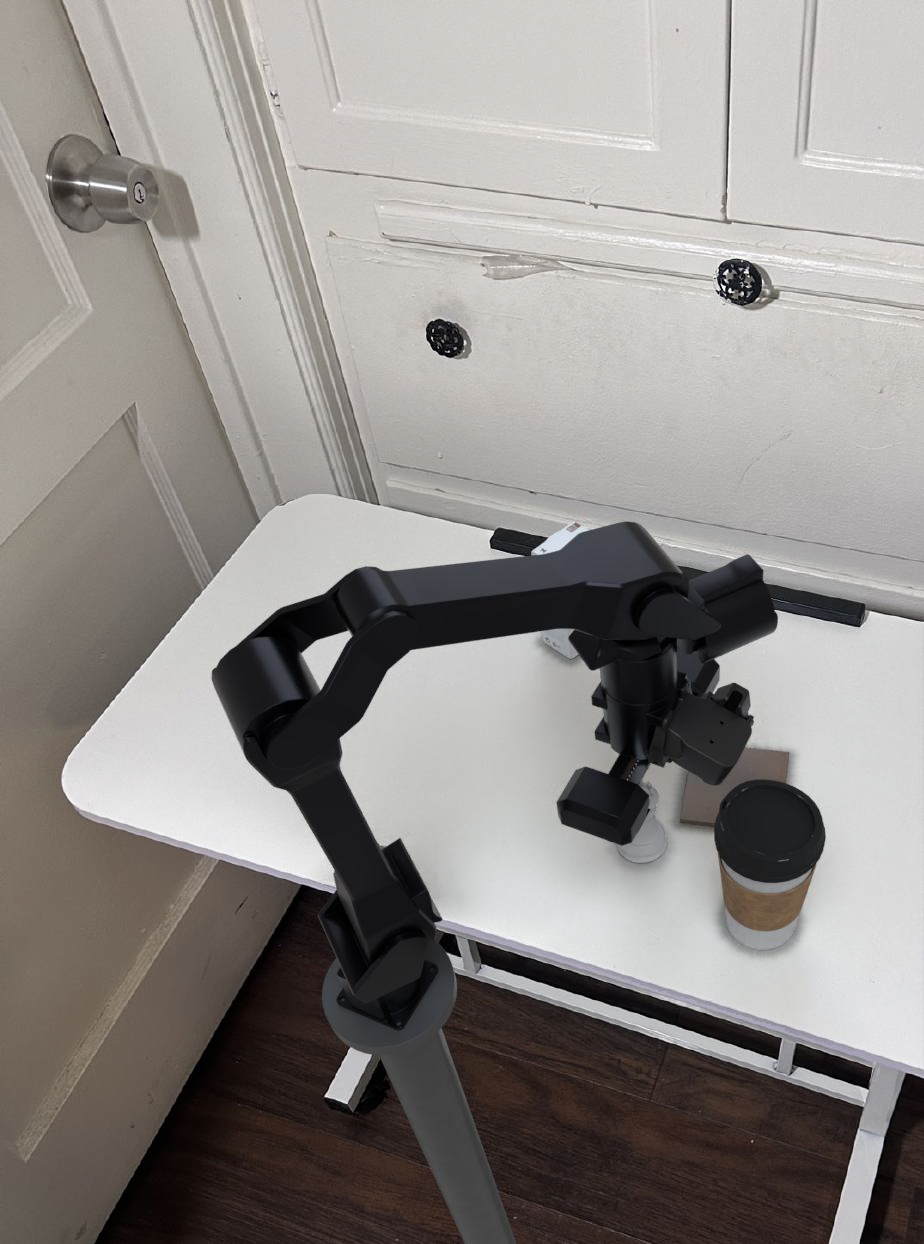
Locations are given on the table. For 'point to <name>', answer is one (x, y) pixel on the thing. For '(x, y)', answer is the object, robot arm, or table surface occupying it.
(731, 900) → the coffee cup
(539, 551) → the cosmetic box
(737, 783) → the walnut coaster
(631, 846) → the rook chess piece
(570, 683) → the table surface
